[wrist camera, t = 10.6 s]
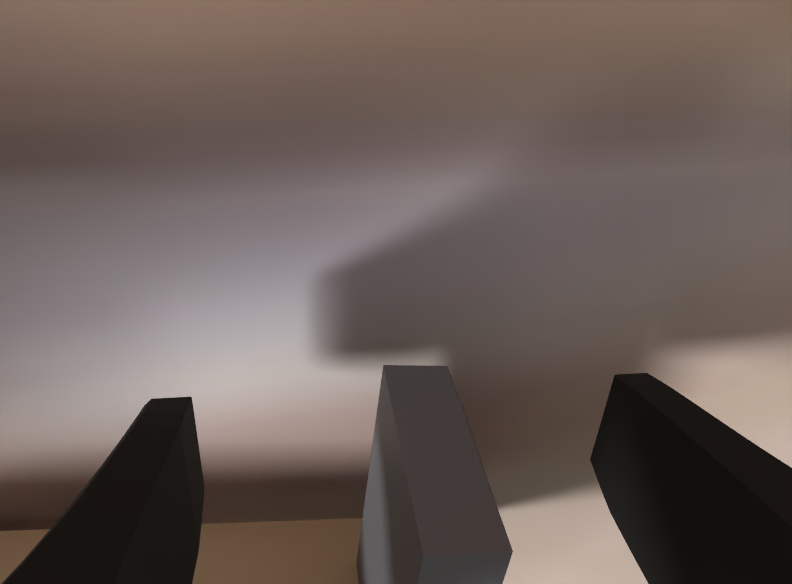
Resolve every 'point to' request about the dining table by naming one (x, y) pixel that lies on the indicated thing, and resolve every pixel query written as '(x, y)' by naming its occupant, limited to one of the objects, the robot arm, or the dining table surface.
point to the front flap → (371, 509)
